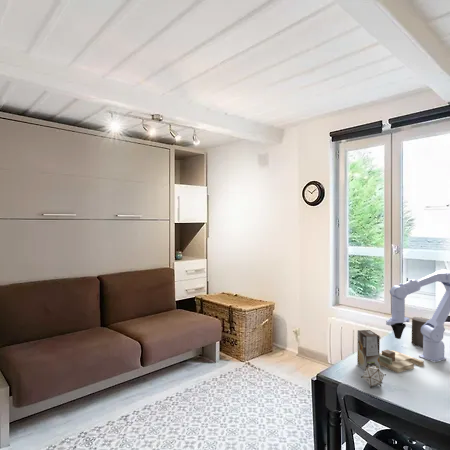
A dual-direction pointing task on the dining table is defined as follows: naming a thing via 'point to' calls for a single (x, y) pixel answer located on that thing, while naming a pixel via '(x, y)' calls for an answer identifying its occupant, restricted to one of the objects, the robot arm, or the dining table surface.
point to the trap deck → (399, 362)
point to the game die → (373, 376)
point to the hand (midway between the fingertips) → (397, 338)
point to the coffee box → (368, 349)
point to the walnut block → (389, 354)
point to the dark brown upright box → (417, 330)
